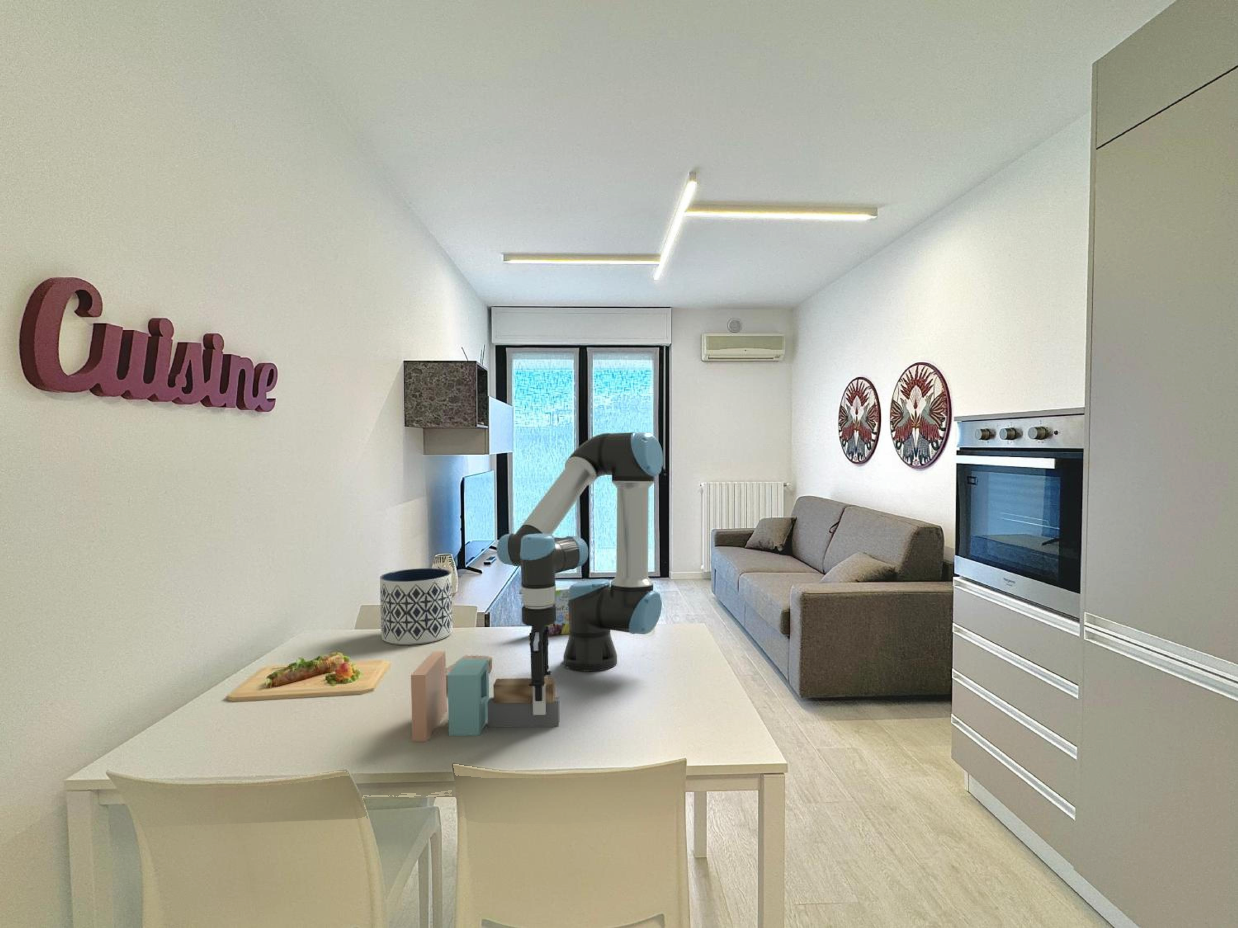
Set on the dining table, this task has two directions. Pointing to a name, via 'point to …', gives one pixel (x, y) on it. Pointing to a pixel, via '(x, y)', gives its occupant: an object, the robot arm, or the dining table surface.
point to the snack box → (561, 612)
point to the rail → (521, 714)
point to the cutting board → (312, 679)
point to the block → (468, 696)
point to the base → (428, 695)
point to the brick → (467, 658)
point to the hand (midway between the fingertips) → (540, 709)
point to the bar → (520, 690)
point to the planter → (416, 606)
